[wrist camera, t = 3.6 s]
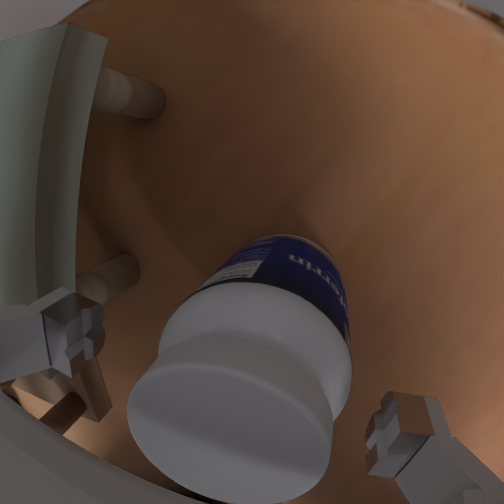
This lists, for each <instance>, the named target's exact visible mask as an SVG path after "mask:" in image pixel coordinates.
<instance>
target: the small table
mask: <svg viewBox="0 0 504 504" xmlns="http://www.w3.org/2000/svg"><path fill="white" fill-rule="evenodd" d="M107 41H108V39H107V38H105V37H103V36H101V35H98V34H96V33H94V32H91V31H89V30H87V29H84V28H82V27H79V26H77V25H74V24H72V23H69V22H68V23H63V24H59V25H55V26H51V27H47V28H43V29H39V30H36V31H33V32H29V33H26V34H23V35H19V36H16V37H13V38H10V39H7V40H4V41H2V42H0V307H1V306H11V305H21V304H25V305H27V306H28V305H30V304H31V303H33V302H35V301H37V300H38V299H40V298H42V297H44V296H45V295H47V294H49V293H51V292H53V291H54V290H56V289H58V288H60V287H64V288H67V289H69V290H71V291H74V292H75V293H78V294H80V295H82V296H84V297H87V298H89V299H91V300H93V301H95V302H97V303H100V304H101V305H103V304H105V303H106V302H108V301H109V300H111V299H112V298H114V297H115V296H117V295H118V294H120V293H121V292H123V291H124V290H126V289H127V288H129V287H130V286H132V285H134V284H135V283H136V282H137V281H138V279H139V275H140V271H139V267H138V264H137V263H136V261H135V260H134V259H133V258H132V257H131V256H129V255H127V254H121V255H118V256H116V257H114V258H112V259H110V260H108V261H106V262H104V263H102V264H100V265H98V266H95V267H93V268H91V269H89V270H87V271H85V272H83V273H81V274H79V275H77V276H75V254H76V226H77V210H78V197H79V187H80V177H81V168H82V161H83V153H84V146H85V140H86V133H87V128H88V122H89V116H90V111H91V110H94V111H101V112H107V113H113V114H119V115H125V116H131V117H136V118H141V119H153V118H155V117H157V116H158V115H159V114H160V113H161V112H162V110H163V108H164V106H165V102H166V97H165V93H164V91H163V90H162V89H161V88H160V87H158V86H156V85H153V84H151V83H148V82H145V81H143V80H140V79H137V78H135V77H132V76H129V75H126V74H124V73H121V72H118V71H115V70H112V69H109V68H106V67H103V66H101V63H102V59H103V55H104V52H105V48H106V45H107ZM59 372H60V371H58V370H56V369H54V368H53V367H51V366H50V368H48V369H45V370H42V371H39V372H38V373H40V374H41V375H43V376H44V377H46V378H47V379H49V380H51V379H52V378H53V377H54V376H56V375H57V374H58V373H59Z"/></svg>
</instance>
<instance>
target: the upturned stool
mask: <svg viewBox="0 0 504 504" xmlns="http://www.w3.org/2000/svg"><path fill="white" fill-rule="evenodd" d="M75 276H76V273H75ZM11 384H12V385H14V386H16V387H18V388H20V389H22V390H24V391H26V392H28V393H30V394H32V395H34V396H36V397H38V398H40V399H43V400H45V401H47V402H49V403H51V404H54V406H53V407H52V408H51V409H50V410H49V411H48V412H47V413H46V414H45V415H44V416H43V417H41V418H40V419H39V420H40V421H41V422H43V423H44V424H46V425H47V426H48V427H50V428H51V429H53V430H54V431H56V432H58V433H59V434H61V435H63V434H64V433H65V432H66V431H67V430H68V429H69V428H70V427H71V426H72V425H73V424H74V423H75V422H76V421H77V420H78V419H79V418H80V417H81V416H82V417H85V418H88V419H90V420H93V421H96V422H98V423H99V422H100V420H101V419H102V418H103V417H104V416H105V415H106V414H107V413H108V411H109V410H110V409H111V408H112V404H111V402H110V399H109V396H108V393H107V390H106V387H105V384H104V381H103V378H102V375H101V372H100V369H99V366H98V363H97V359H96V357H95V358H93V359H88V360H85V367H84V368H83V369H82V370H81V371H79V372H78V373H77V374H76V375H75V376H74V377H73V378H71V377H69V376H67V375H65V374H63V373H62V372H59V373H58V374H57V375H56V376H54V377H53V378H52V379H51V380H49V379H47V378H46V377H44V376H43V375H41V374H40V373H38V372H35V373H32V374H29V375H26V376H23V377H19V378H16V379H13V380H9V381H6V382H3V383H0V386H1V389H2V391H3V390H4V389H6V388H7V387H8V386H9V385H11Z"/></svg>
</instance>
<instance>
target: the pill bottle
mask: <svg viewBox="0 0 504 504" xmlns="http://www.w3.org/2000/svg"><path fill="white" fill-rule="evenodd" d="M351 379H352V357H351V344H350V333H349V321H348V312H347V302H346V294H345V287H344V282H343V278H342V275H341V272H340V270H339V268H338V266H337V265H336V263H335V261H334V260H333V259H332V258H331V256H330V255H329V254H328V253H327V252H326V251H325V250H324V249H322V248H321V247H320V246H318V245H317V244H315V243H314V242H312V241H310V240H308V239H306V238H303V237H300V236H295V235H289V234H275V235H268V236H264V237H261V238H258V239H256V240H254V241H252V242H250V243H248V244H247V245H245V246H244V247H243V248H241V249H240V250H239V251H238V252H237V253H236V254H235V255H233V256H232V257H231V258H230V259H229V260H228V261H227V262H226V263H225V264H224V265H223V266H222V267H220V268H219V269H218V270H217V271H216V272H215V273H214V274H213V275H212V276H211V277H210V278H209V279H208V280H206V281H205V282H204V283H203V284H202V285H201V286H200V287H199V288H198V289H197V290H196V291H195V292H194V293H193V294H192V295H190V296H189V297H188V298H187V299H186V300H185V301H184V302H183V303H182V304H181V305H180V306H179V307H178V309H177V310H176V311H175V312H174V313H173V315H172V316H171V317H170V318H169V320H168V322H167V323H166V325H165V328H164V330H163V332H162V335H161V338H160V342H159V347H158V358H157V359H156V360H155V361H154V362H153V364H152V365H151V366H150V367H149V368H148V370H147V371H146V372H145V373H144V374H143V375H142V377H141V378H140V379H139V380H138V381H137V383H136V384H135V385H134V387H133V389H132V391H131V393H130V395H129V398H128V402H127V420H128V425H129V429H130V431H131V434H132V436H133V438H134V440H135V442H136V444H137V445H138V447H139V448H140V450H141V451H142V452H143V454H144V455H145V456H146V457H147V459H148V460H149V461H150V462H151V463H152V464H153V465H154V466H155V467H157V468H158V469H159V470H160V471H161V472H162V473H164V474H165V475H166V476H168V477H169V478H170V479H172V480H173V481H175V482H176V483H178V484H180V485H182V486H183V487H185V488H187V489H189V490H191V491H193V492H196V493H198V494H200V495H203V496H206V497H209V498H212V499H215V500H219V501H223V502H227V503H233V504H276V503H281V502H285V501H288V500H291V499H294V498H296V497H298V496H300V495H302V494H304V493H306V492H307V491H309V490H310V489H311V488H313V487H314V486H315V485H316V484H317V483H318V482H319V481H320V479H321V478H322V477H323V475H324V473H325V472H326V470H327V467H328V465H329V461H330V454H331V446H332V436H333V422H334V421H335V420H336V418H337V417H338V416H339V414H340V413H341V411H342V409H343V407H344V405H345V403H346V401H347V398H348V395H349V392H350V387H351Z"/></svg>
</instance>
